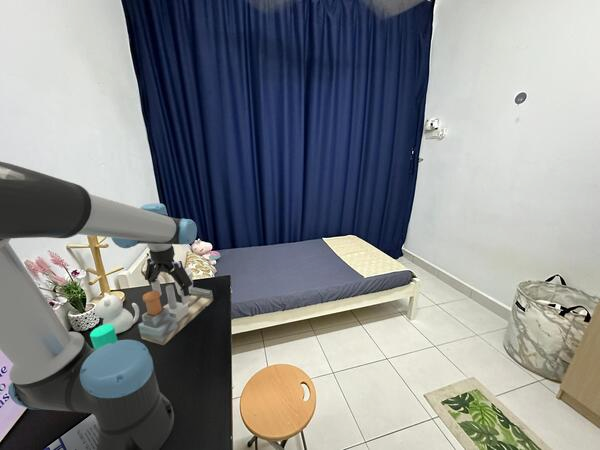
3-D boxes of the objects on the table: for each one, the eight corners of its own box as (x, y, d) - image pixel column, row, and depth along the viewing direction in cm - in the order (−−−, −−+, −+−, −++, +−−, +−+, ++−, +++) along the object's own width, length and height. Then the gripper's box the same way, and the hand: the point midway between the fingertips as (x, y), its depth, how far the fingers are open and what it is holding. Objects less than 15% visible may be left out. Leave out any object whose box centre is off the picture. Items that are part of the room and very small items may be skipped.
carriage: (177, 322, 91) (171, 292, 88) (160, 317, 94) (154, 289, 90) (189, 312, 97) (183, 284, 93) (173, 308, 99) (167, 280, 95)
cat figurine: (102, 328, 93) (90, 294, 89) (141, 314, 101) (132, 282, 96) (102, 342, 87) (89, 306, 82) (143, 326, 94) (134, 293, 89)
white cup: (176, 289, 118) (173, 271, 115) (194, 285, 121) (191, 267, 118) (176, 298, 111) (172, 278, 108) (195, 293, 114) (192, 274, 111)
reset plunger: (154, 318, 84) (150, 300, 81) (143, 315, 85) (139, 297, 83) (166, 309, 88) (162, 292, 86) (155, 306, 90) (151, 289, 87)
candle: (109, 365, 77) (99, 334, 74) (93, 362, 79) (83, 331, 75) (125, 350, 83) (117, 320, 79) (110, 347, 84) (101, 318, 80)
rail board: (163, 345, 85) (157, 321, 82) (141, 338, 88) (135, 315, 85) (213, 300, 109) (210, 280, 106) (194, 296, 112) (191, 277, 109)
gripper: (197, 247, 86) (205, 299, 93) (144, 240, 94) (155, 288, 100) (181, 256, 79) (191, 311, 86) (125, 247, 87) (138, 299, 94)
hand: (171, 299), depth 93 cm, fingers open, 13 cm apart
